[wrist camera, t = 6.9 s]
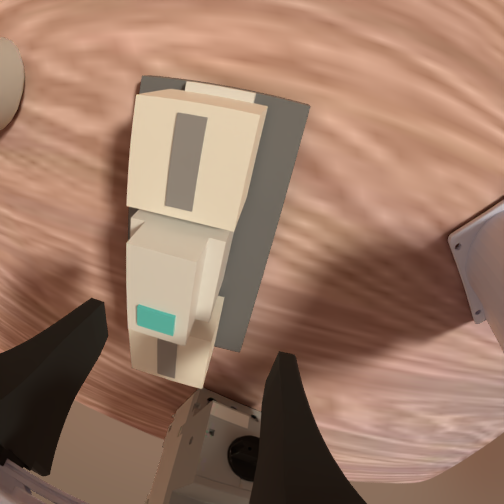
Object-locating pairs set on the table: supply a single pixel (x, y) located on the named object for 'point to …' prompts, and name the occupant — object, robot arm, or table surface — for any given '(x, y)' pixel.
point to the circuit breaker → (208, 453)
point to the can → (10, 80)
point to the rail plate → (253, 207)
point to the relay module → (173, 274)
